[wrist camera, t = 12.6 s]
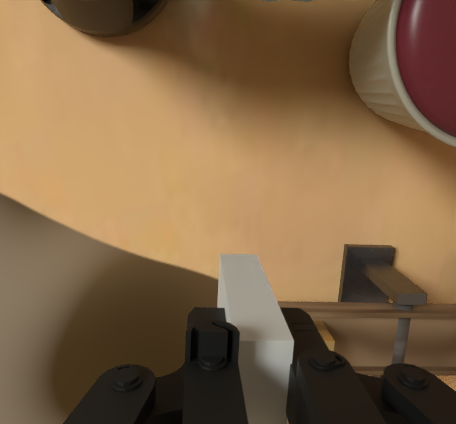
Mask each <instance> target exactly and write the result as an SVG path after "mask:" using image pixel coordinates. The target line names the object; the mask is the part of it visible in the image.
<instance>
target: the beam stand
mask: <svg viewBox="0 0 456 424" xmlns="http://www.w3.org/2000/svg"><path fill="white" fill-rule="evenodd" d="M394 249H395V248H394V247H392V246H389V245H351V244H345V245H344V254H343V262H342V271H341V279H340V288H339V297H338V302H351V303H387V297H389V298H390V299H391V300H392V301H393V302H394V303H395V304H396V305H426V299H427V293H426V292H424V291H423V290H422V289H420V288H419V287H418V286H417V285H415V284H414V283H413V282H411V281H410V280H409V279H407V278H406V277H405V276H404V275H402V274H401V273H400V272H398V271H397V270H396V269H394V268H393V267H392V263H393V256H394ZM372 376H373V377H378V378H383V375H372Z"/></svg>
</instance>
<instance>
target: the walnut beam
mask: <svg viewBox="0 0 456 424" xmlns="http://www.w3.org/2000/svg"><path fill="white" fill-rule="evenodd" d="M277 302H278V305H279V307H288V308H301V309H302V310H303V311H305V312H306V313H308V314H309V315H310V317H311V318H312V320H322V321H323V323H324V324H325V326H326V328H327V329H328V331H329V333H330V334H331V336H332V338H333V339H334V341H335V344H334V352H336V353H338V354H340V355H342V356H343V357H345V359H346V360H347V361H348V362H349V363H350V365H351V366H352V368H353V370H354V371H355V372H356V373H360V374H364V375H383V372H384V369H385V368H386V367H387V366H389V365H391V364H396V363H406V364H412V365H416V366H417V367H420V368H422V369H425V370H427V371H428V372H430V373H432V374H433V375H456V304H426V305H396V304H395V303H394V302H393V303H351V302H285V301H277Z"/></svg>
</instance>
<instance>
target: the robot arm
mask: <svg viewBox="0 0 456 424" xmlns="http://www.w3.org/2000/svg"><path fill="white" fill-rule="evenodd" d="M41 1H42V3H43V4H44V5H45V6H46V7H47V8H48V9H49V10H50V11H51V12H52V13H53V14H55V15H56V16H57V17H58V18H60V19H61V20H63V21H64V22H65V23H67V24H68V25H70V26H72V27H73V28H75V29H77V30H80V31H82V32H85V33H88V34H91V35H96V36H103V37H114V36H121V35H126V34H129V33H132V32H134V31H137V30H139V29H141V28H142V27H144V26H145V25H147V24H148V23H150V22H151V21H152V20H153V19H154V18H155V17H156V16H157V15H158V14H159V13H160V11H161V10H162V9H163V7H164V6H165V4H166V3H167V1H168V0H41ZM264 1H277V0H264ZM293 1H304V2H308V1H312V0H293ZM185 352H186V353H185V363H184V364H183V365H182V367H181V368H179V369H178V370H177V371H175V372H173V373H171V374H168V375H165V376H162V377H157V378H155V375H154V373H153V372H152V371H151V370H149V369H148V368H147V367H143V366H140V365H131V364H126V365H121V366H116V367H114V368H112V369H109V370H107V371H106V372H105V373H103V374H102V375H101V376H100V377H99V378H98V379H97V381H96V382H95V383H94V385H93V386H92V387H91V389H90V390H89V391H88V393H87V394H86V395H85V396H84V397H83V399H82V400H81V401H80V403H79V404H78V405H77V407H76V408H75V409H74V410H73V412H72V413H71V414H70V415H69V417H68V418H67V419H66V421H65V422H64V423H63V424H286V422H287V418H288V422H289V424H456V391H454V390H453V389H452V388H450V387H449V386H448V385H446V384H445V383H444V382H443V381H441V380H440V379H439V378H437V377H436V376H435V375H433V374H432V373H430V372H428V371H427V370H425V369H422V368H420V367H417V366H416V365H412V364H406V363H396V364H391V365H389V366H387V367H386V368H385V369H384V372H383V378H378V377H373V376H368V375H364V374H360V373H356V372H355V371H354V370H353V368H352V366H351V365H350V363H349V362H348V361H347V360H346V359H345V357H343V356H342V355H340V354H338V353H336V352H334V351H331V350H329V348H328V347H327V345H326V343H325V341H324V340H323V338H322V336H321V334H320V333H319V332H318V329H317V327H316V325H314V322H313V320H312V318H311V317H310V315H309V314H308V313H306V312H305V311H303V310H302V309H301V308H288V307H279V305H278V302H277V300H276V298H275V295H274V293H273V291H272V288H271V286H270V284H269V281H268V279H267V277H266V275H265V272H264V270H263V268H262V265H261V263H260V261H259V258H258V256H257V255H250V254H220V263H219V285H218V306H217V308H199V307H195V308H194V309H193V310H192V311H191V312H190V313H189V314H188V323H187V331H186V350H185Z"/></svg>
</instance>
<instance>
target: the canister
mask: <svg viewBox="0 0 456 424" xmlns="http://www.w3.org/2000/svg"><path fill="white" fill-rule="evenodd" d="M349 55H350V60H349V66H350V75H351V78H352V83H353V85H354V87H355V91H356V92H357V93H358V95H359V96H360V99H361V100H362V101H363V102H364V103H365V104H366V106H367V107H368V108H370V109H372V110H373V112H374V113H375V114H377V115H380V116H382V117H383V118H384V119H387V120H390V121H393V122H395V123H398V124H401V125H404V126H407V127H410V128H414V129H417V130H421V131H424V132H427V133H429V134H430V135H431V136H433V137H434V138H436V139H438V140H439V141H441V142H443V143H445V144H448V145H450V146H453V147H455V148H456V0H377V1H376V2H375V3H374V4H373V5H372V6H371V8H370V9H369V10H368V12H367V13H366V15H365V16H364V17H363V18H362V20H361V21H360V24H359V27H358V28H357V29H356V31H355V36H354V38H353V40H352V42H351V50H350V52H349Z"/></svg>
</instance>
